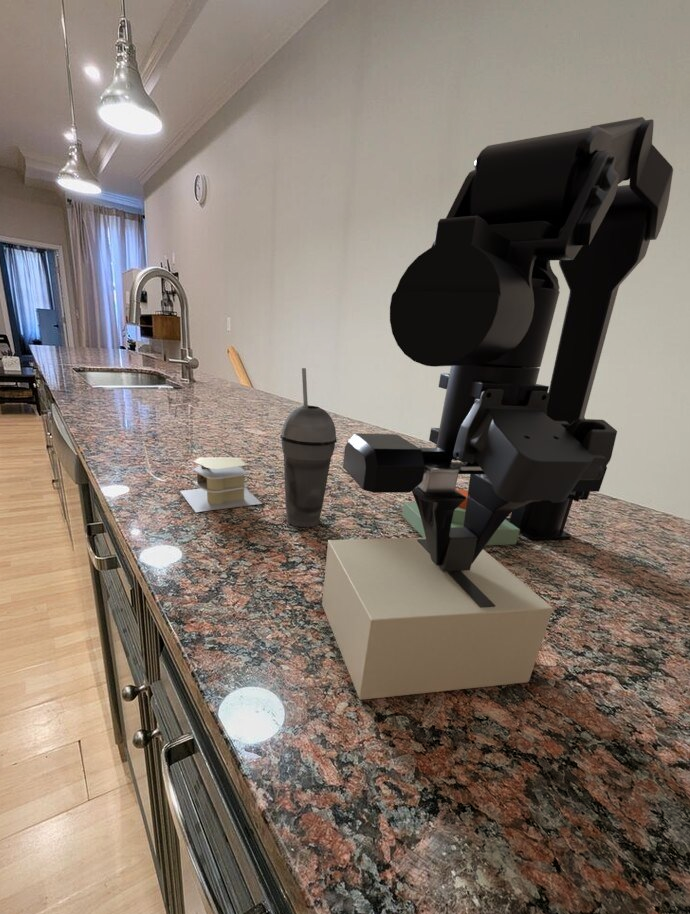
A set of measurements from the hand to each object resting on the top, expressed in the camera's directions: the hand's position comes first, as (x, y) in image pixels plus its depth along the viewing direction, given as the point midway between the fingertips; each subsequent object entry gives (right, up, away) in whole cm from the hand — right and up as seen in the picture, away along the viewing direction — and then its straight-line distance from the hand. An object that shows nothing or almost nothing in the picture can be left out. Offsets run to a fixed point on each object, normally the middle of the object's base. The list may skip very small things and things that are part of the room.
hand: (451, 562), depth 37 cm
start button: (+9, +5, +24) cm, 26 cm away
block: (+9, +2, +25) cm, 27 cm away
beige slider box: (-2, -7, +2) cm, 8 cm away
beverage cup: (-12, +3, +25) cm, 28 cm away
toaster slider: (0, 0, 0) cm, 0 cm away
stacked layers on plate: (-25, +6, +31) cm, 40 cm away
